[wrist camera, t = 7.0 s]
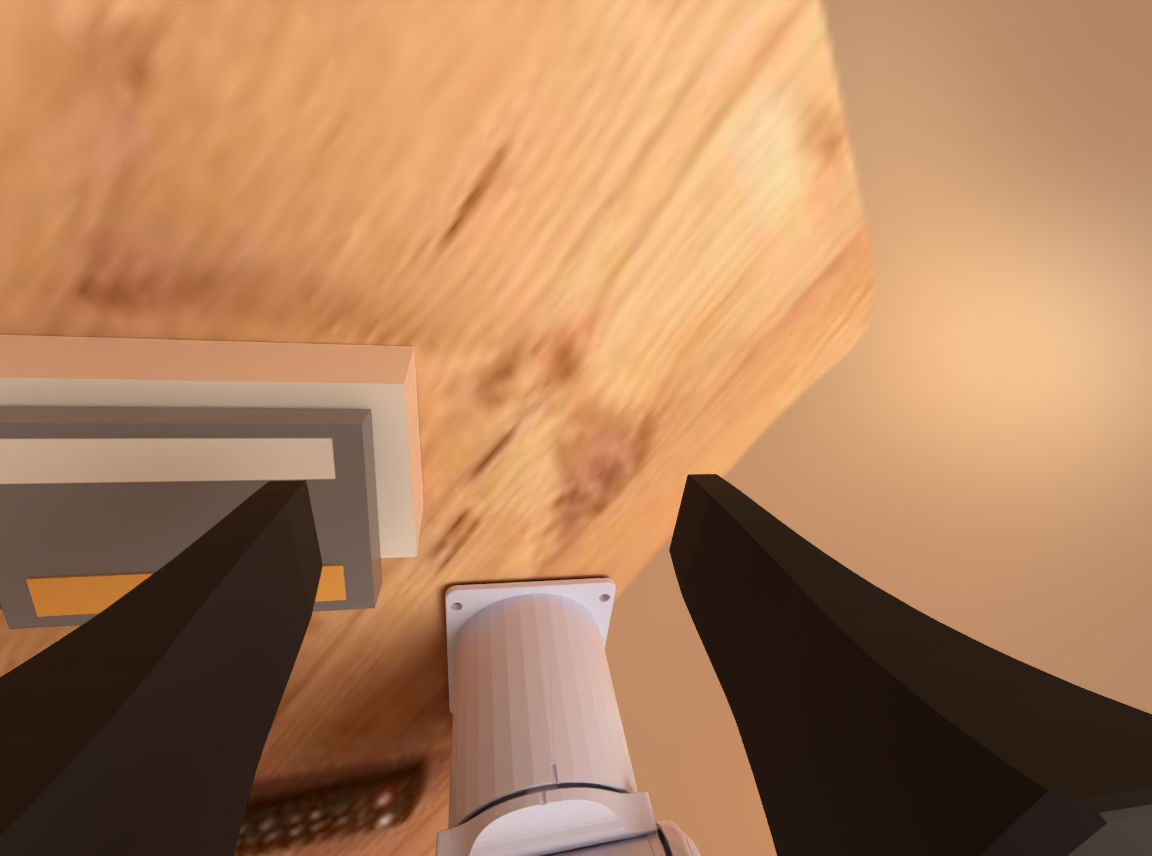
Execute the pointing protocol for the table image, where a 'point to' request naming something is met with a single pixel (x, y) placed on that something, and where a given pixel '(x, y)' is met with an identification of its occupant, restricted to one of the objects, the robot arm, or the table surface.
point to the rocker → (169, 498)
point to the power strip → (240, 394)
